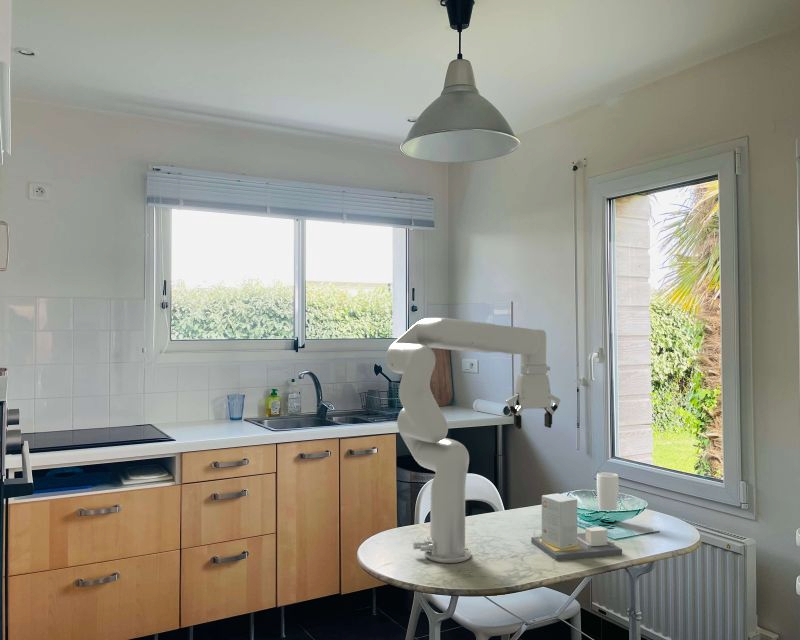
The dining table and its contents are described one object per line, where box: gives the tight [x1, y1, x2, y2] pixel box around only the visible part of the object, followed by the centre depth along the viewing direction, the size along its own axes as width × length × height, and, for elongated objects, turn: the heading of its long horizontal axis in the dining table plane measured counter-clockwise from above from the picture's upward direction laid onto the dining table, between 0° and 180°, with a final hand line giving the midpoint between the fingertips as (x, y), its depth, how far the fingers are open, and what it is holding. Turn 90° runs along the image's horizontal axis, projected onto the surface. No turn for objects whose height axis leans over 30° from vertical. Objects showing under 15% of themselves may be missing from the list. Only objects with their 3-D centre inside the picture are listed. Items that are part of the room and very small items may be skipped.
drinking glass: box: [596, 471, 620, 510], centre depth 213 cm, size 7×7×15 cm
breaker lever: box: [585, 526, 608, 546], centre depth 186 cm, size 5×3×4 cm, turn 104°
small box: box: [541, 493, 578, 549], centre depth 186 cm, size 8×6×13 cm
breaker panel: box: [530, 532, 623, 561], centre depth 187 cm, size 20×15×2 cm
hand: (533, 427), depth 198 cm, fingers open, 9 cm apart
